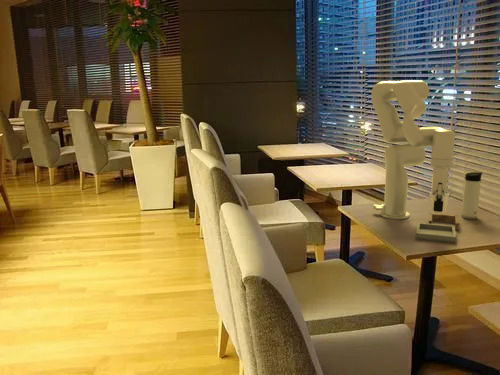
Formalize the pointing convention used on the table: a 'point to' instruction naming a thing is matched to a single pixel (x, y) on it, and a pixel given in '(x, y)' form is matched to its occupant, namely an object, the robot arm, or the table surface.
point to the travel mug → (471, 195)
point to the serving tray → (436, 232)
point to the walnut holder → (444, 219)
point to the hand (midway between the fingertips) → (437, 208)
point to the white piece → (432, 199)
